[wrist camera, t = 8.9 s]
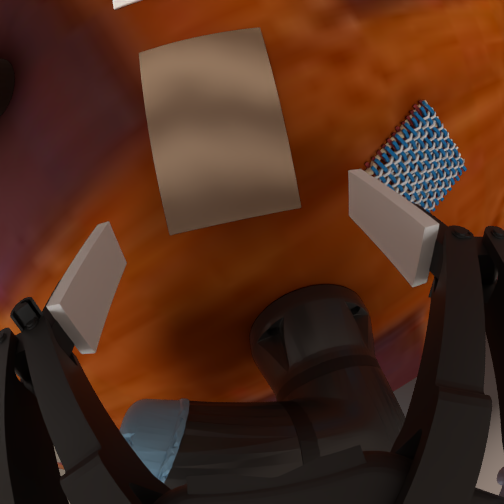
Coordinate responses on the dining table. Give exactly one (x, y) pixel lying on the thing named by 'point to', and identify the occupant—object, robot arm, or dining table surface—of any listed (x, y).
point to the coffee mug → (5, 84)
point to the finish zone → (122, 3)
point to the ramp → (217, 130)
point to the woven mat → (441, 164)
